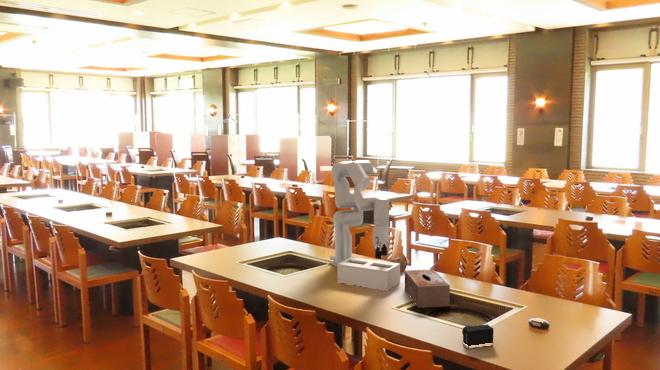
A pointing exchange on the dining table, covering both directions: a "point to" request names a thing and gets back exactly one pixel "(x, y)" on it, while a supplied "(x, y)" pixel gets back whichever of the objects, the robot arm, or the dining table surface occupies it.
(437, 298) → the tissue box cover
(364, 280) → the white rectangular block
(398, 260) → the tin
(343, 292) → the dining table surface
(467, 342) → the digital camera
